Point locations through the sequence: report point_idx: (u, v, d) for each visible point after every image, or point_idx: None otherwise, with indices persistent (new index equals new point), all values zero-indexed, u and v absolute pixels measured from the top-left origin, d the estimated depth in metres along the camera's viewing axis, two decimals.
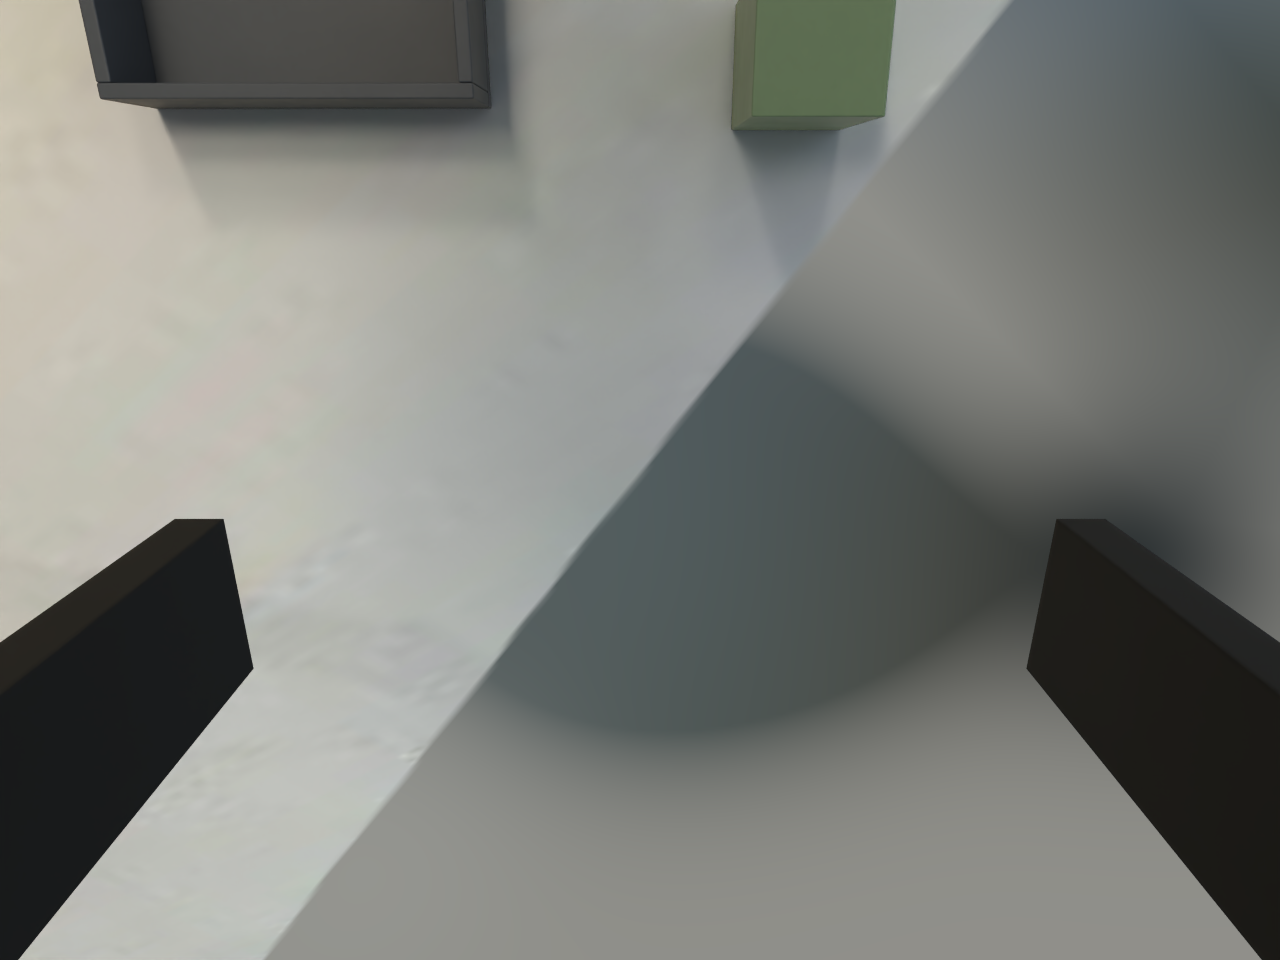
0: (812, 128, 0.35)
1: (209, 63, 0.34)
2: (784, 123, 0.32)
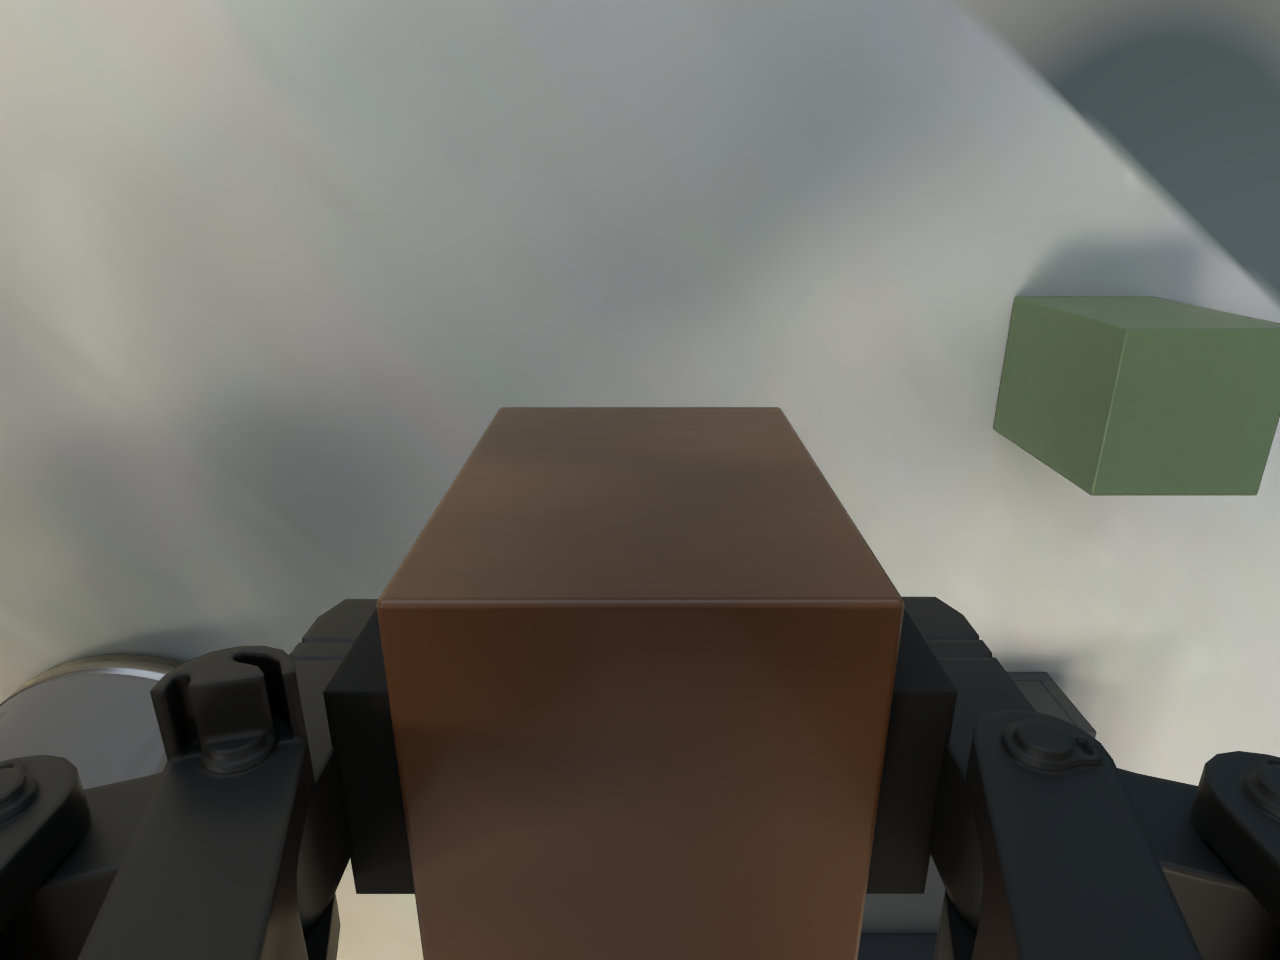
0: None
1: None
2: None
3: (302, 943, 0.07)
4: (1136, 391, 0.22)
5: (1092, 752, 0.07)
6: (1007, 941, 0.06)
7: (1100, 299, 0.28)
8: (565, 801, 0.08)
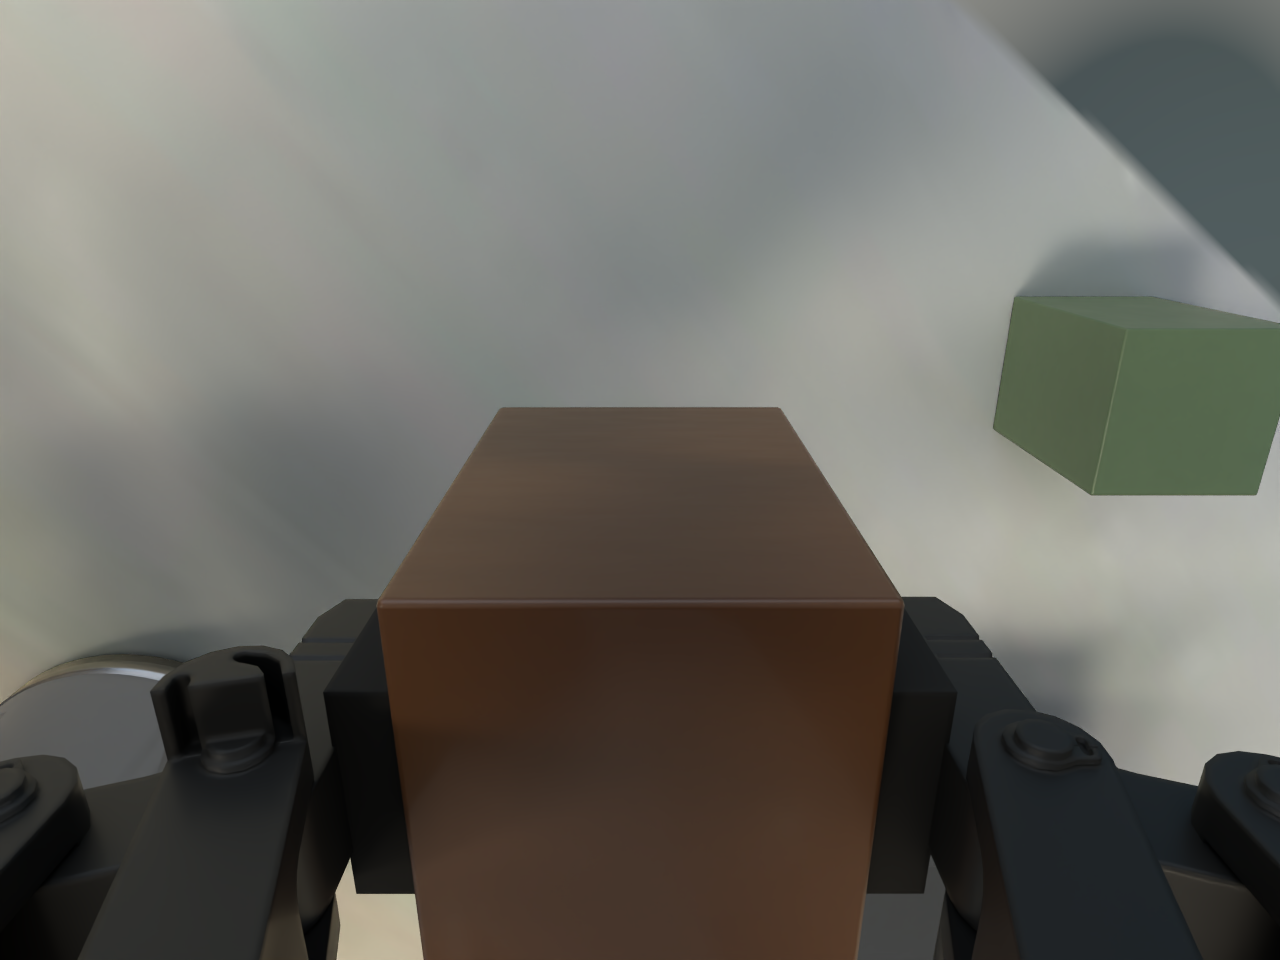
0: None
1: None
2: None
3: (302, 943, 0.07)
4: (1136, 391, 0.22)
5: (1092, 753, 0.07)
6: (1007, 941, 0.06)
7: (1100, 299, 0.28)
8: (565, 800, 0.08)
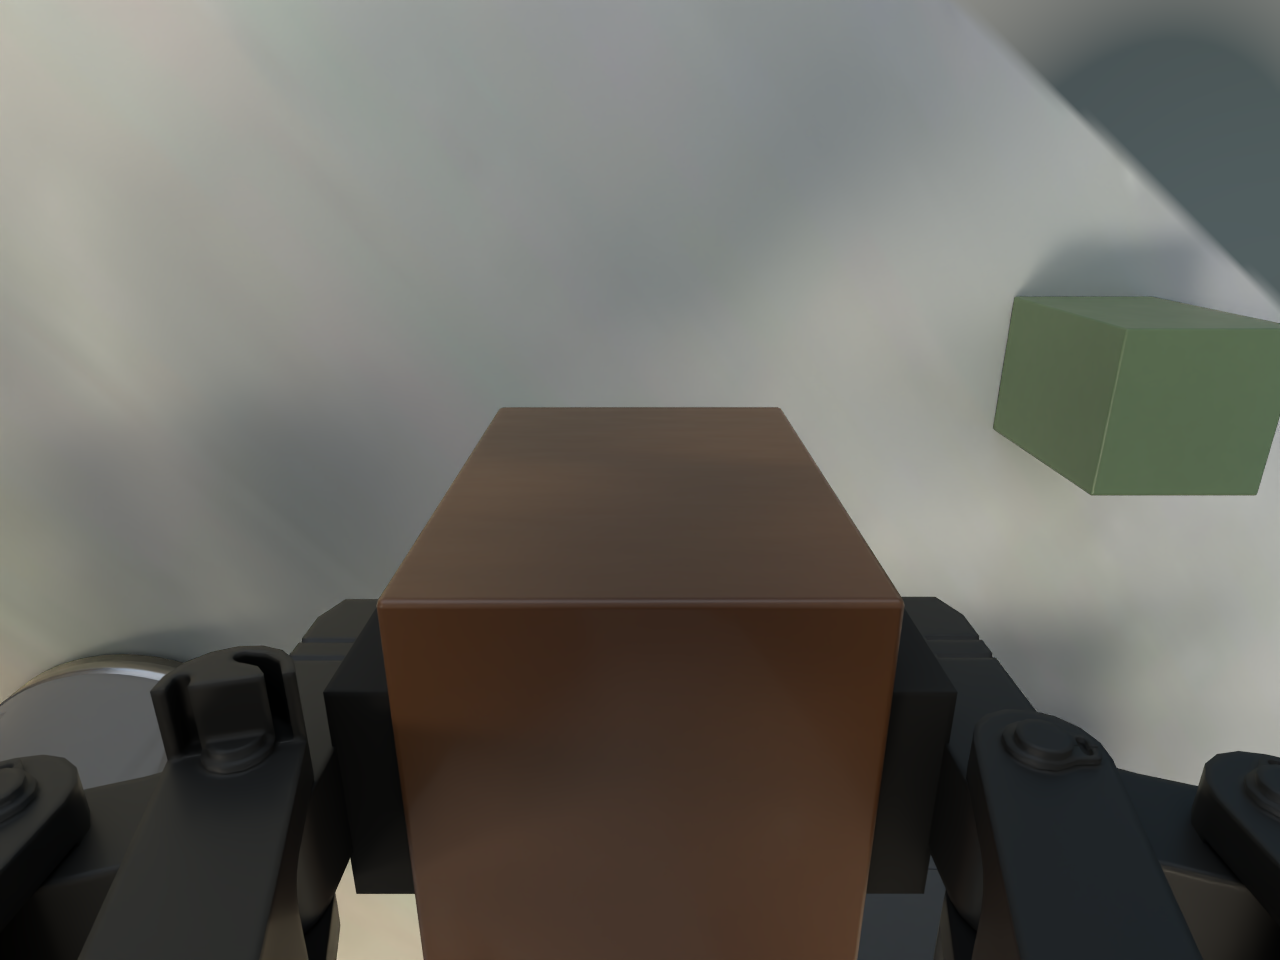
0: None
1: None
2: None
3: (302, 943, 0.07)
4: (1136, 391, 0.22)
5: (1092, 753, 0.07)
6: (1007, 941, 0.06)
7: (1100, 299, 0.28)
8: (565, 800, 0.08)
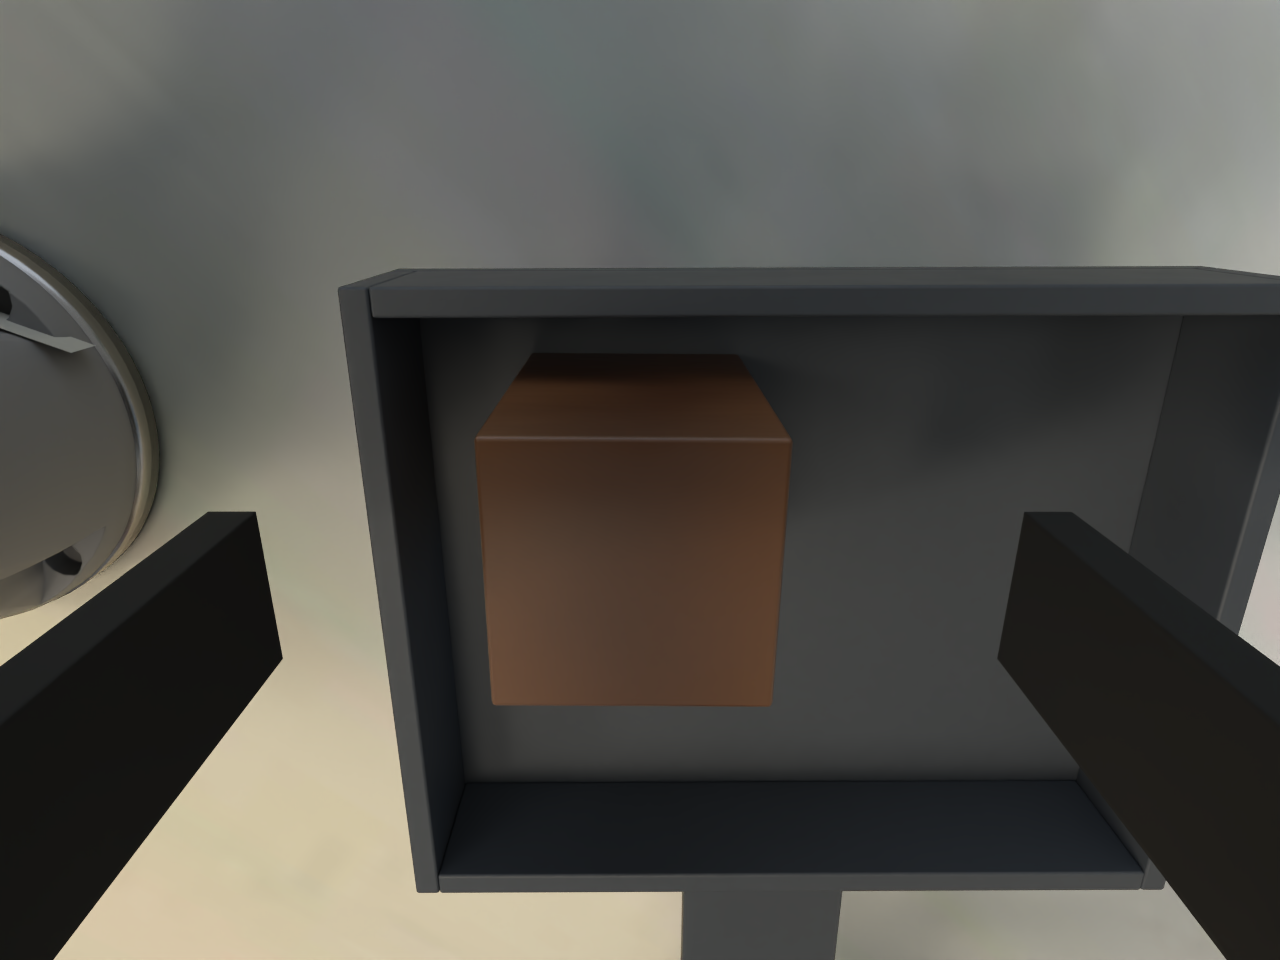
0: None
1: None
2: None
3: None
4: None
5: None
6: None
7: None
8: (585, 572, 0.13)
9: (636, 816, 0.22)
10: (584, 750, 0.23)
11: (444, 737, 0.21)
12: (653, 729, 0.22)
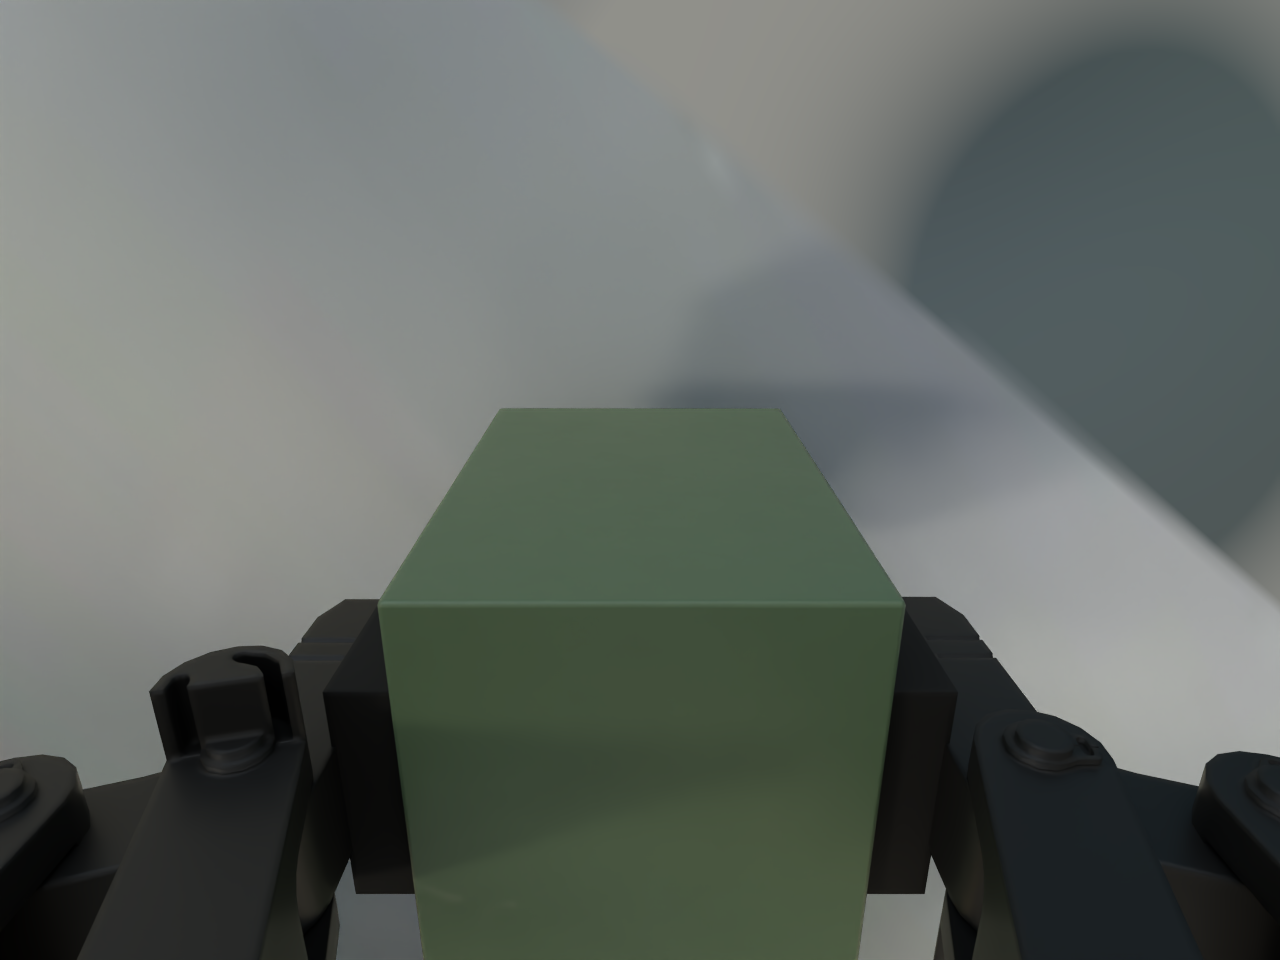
0: None
1: None
2: None
3: (301, 943, 0.07)
4: (459, 757, 0.08)
5: (1093, 753, 0.07)
6: (1008, 941, 0.06)
7: (649, 420, 0.13)
8: None
9: None
10: None
11: None
12: None
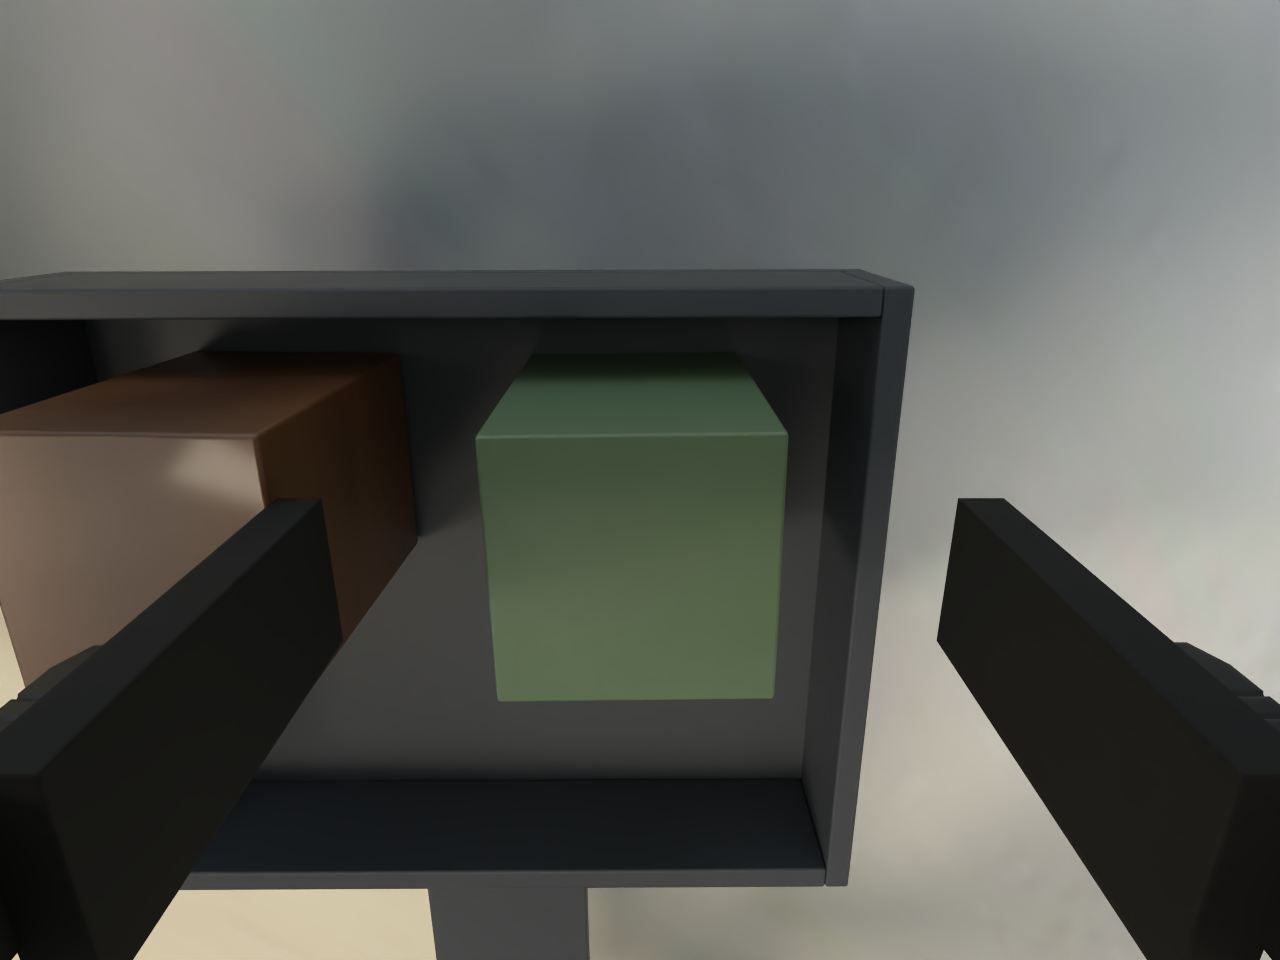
0: None
1: (766, 708, 0.22)
2: None
3: None
4: (521, 539, 0.13)
5: None
6: None
7: (639, 359, 0.18)
8: (85, 567, 0.13)
9: (348, 814, 0.22)
10: (308, 749, 0.23)
11: None
12: (374, 728, 0.23)
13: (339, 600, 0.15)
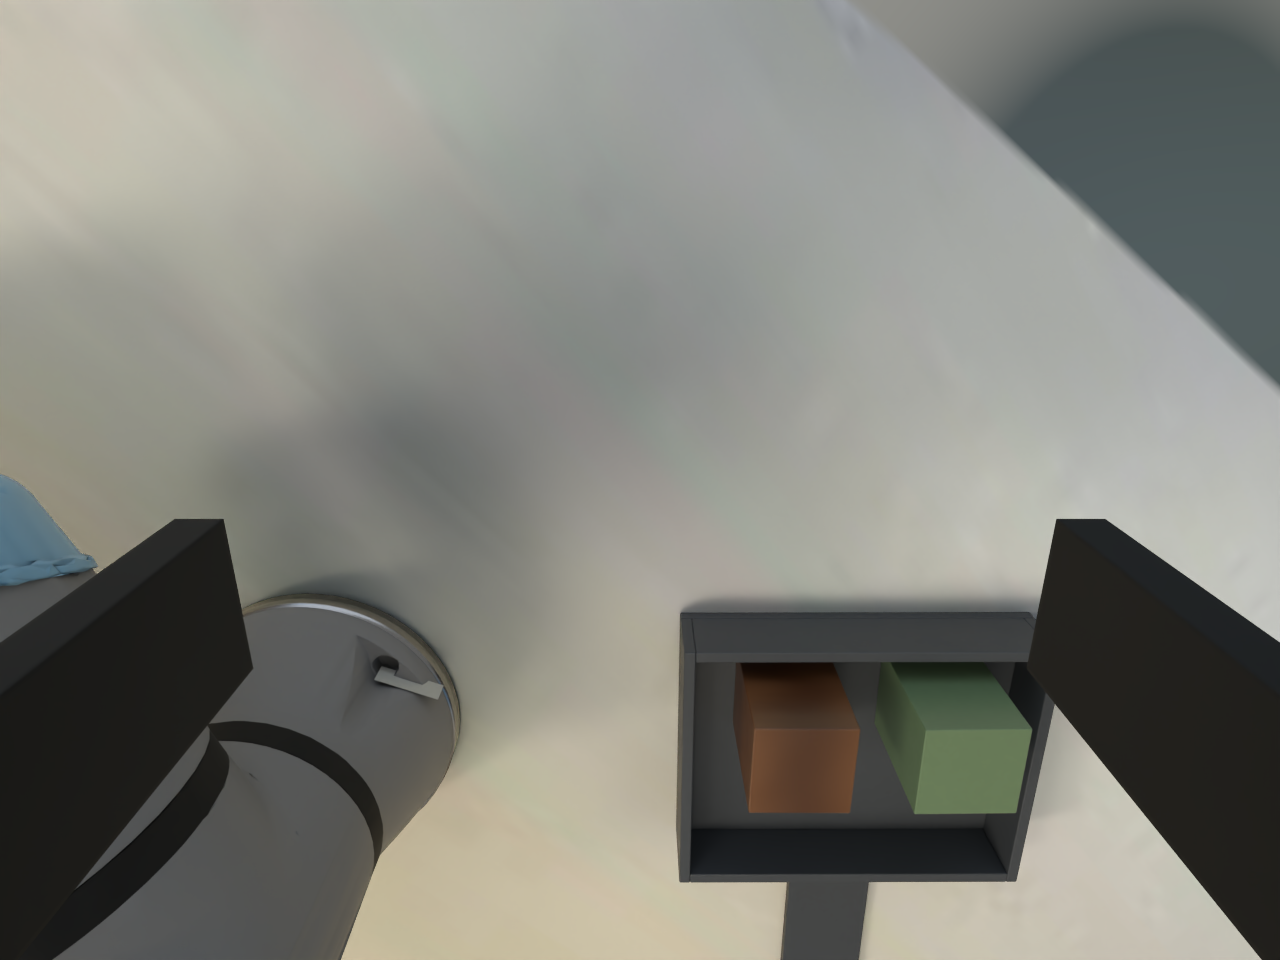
0: None
1: None
2: None
3: None
4: (935, 761, 0.37)
5: None
6: None
7: None
8: (787, 769, 0.37)
9: (773, 846, 0.46)
10: (745, 814, 0.47)
11: None
12: None
13: None
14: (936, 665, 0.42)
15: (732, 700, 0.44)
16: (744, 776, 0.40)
